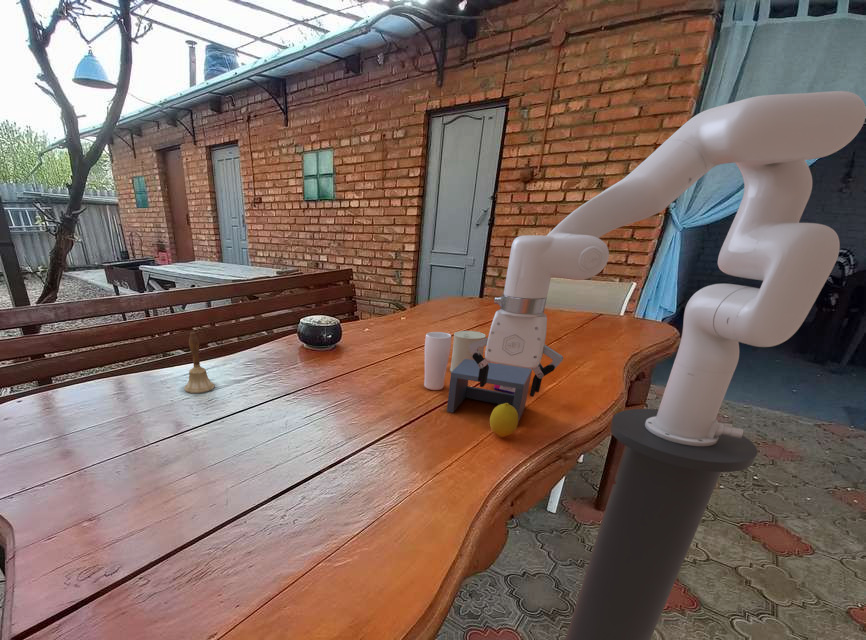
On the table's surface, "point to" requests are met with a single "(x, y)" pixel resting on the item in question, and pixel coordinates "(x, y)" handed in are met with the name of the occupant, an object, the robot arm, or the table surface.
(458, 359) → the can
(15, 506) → the table surface
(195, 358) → the hand bell
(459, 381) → the shelf
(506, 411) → the lemon
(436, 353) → the drinking glass
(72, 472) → the table surface
